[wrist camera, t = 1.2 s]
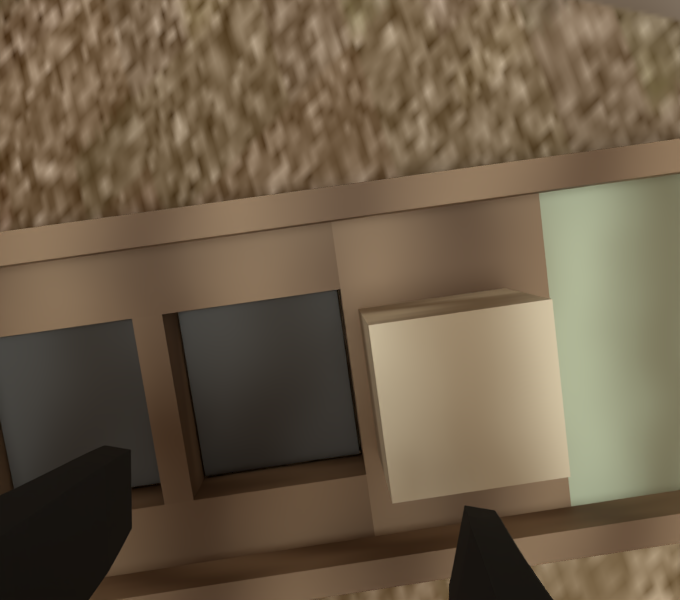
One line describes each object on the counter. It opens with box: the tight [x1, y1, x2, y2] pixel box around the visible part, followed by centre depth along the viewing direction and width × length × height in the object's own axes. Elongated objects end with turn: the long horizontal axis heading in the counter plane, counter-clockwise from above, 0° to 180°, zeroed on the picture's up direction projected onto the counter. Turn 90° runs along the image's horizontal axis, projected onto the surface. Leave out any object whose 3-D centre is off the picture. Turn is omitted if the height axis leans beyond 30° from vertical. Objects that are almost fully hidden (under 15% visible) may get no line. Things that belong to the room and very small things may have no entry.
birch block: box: [358, 288, 571, 503], centre depth 18 cm, size 5×5×4 cm
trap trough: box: [0, 139, 680, 600], centre depth 20 cm, size 28×13×4 cm, turn 98°
